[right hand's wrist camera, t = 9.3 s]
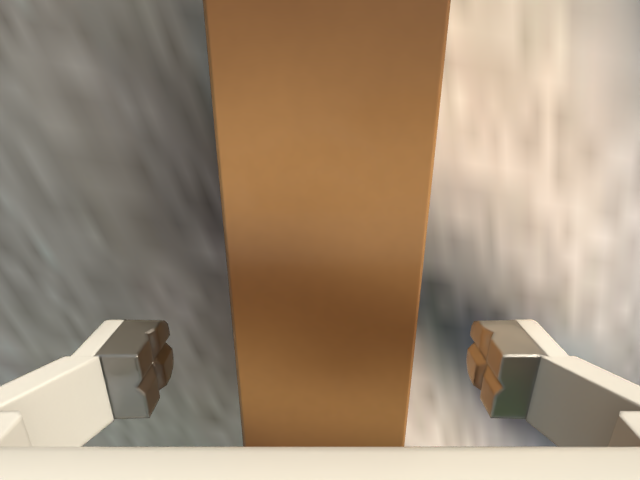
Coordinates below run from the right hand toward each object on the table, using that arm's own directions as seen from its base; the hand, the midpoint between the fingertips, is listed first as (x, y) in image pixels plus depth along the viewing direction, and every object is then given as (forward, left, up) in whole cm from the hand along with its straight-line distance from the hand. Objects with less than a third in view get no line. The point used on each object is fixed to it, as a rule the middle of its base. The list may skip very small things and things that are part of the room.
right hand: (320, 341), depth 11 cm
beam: (+13, -14, -5) cm, 20 cm away
